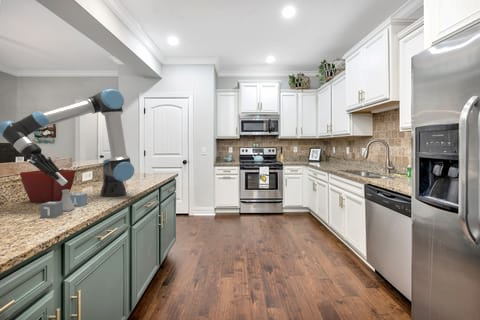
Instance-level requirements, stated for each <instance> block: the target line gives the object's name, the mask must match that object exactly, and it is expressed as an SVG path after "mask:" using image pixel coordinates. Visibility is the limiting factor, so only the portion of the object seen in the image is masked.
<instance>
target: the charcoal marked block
mask: <svg viewBox="0 0 480 320" xmlns="http://www.w3.org/2000/svg"><path fill="white" fill-rule="evenodd" d="M39 212H40V213H39V215H40V216H39V217H40V219H51V218H52V219H55V218H57V217H58V218H59V217H60V216H63V215H64V213H63V202H61V201H55V202H42V203H40V204H39Z"/></svg>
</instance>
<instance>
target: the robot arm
mask: <svg viewBox="0 0 480 320" xmlns="http://www.w3.org/2000/svg"><path fill="white" fill-rule="evenodd" d="M124 104H125V98H124V95H123V94H122V93H121V92H120V91H119V90H117V89H115V88H106V89H104V90H103V91H99V92H98V93H96V94H94V95H92V96H89V97H86V98H85V100H82V101H79V102H75V103H72V104H67V105H64V106H61V107H58V108H54V109H50V110H46V111H43V112H42V111H40V110H37V111H35V112H33V113H31V114H29V115H27V116H26V117H23V118H22V119H20V120H17V121H16V122H15V121H13V120H5V121H3V122H1V123H0V135H1V136H2V138H3V139H5V140H6V141H7V142H8V143H9V144H10V145H11V146H12V147H13V148H14V149H15V150H16V151H17V152H19V153H20V154H21V156H22V157H24V158H25V159H26V160H29V161H28V164H31V165H33V166H34V167H35V168H37V169H38V171H39V170H41V171H42V172H43V173H45V174H46V175H49V177H51V176H52V177H53V178H54V179H55V180H56V181H57V182H58V183H60V184H61V185H62V186H63V185H65V184H66V183H67V182H68V181H67V180H66V179H65V178H64V177H63V176H62V175H60V174H59V173H58V172H59V171H60V170H61V169H59V167H58V165H56V164H55V163H54V161H53V160H52V158H51V157H50V156H47V157H46V156H45V155H44V154H43V153H42V148H41V147H40V146H39V145H38V144H37V143H36V142H35V141H34V140H33V139H32V138H31V137H30V136H29V135H31V134H33V133H34V132H37V131H38V130H41V129H44V128H46V127H49V126H52V125H55V124H59V123H62V122H65V121H69V120H73V119H76V118H78V117H81V116H85V115H87V114H97V113H101V115H102V116H104V120H105V125H106V132H107V139H108V143H109V144H108V145H109V151H110V158H107V159H104V160H103V161H102V172H103V173H102V180H103V181H102V182H103V183H102V186H101V189H100V194H99V195H100V197H105V198H106V197H107V198H108V197H109V198H110V197H113V198H114V197H120V196H121V197H122V196H125V195H127V189H126V186H125V184H124V182H126V181H129V180H131V179H132V177H134V175H135V167H134V165H133V164H132V163H131V157H130V156H129V155H128V154H127V149H126V141H125V136H124V134H125V133H124V131H123V130H124V128H123V121H122V116H121V115H122V114H123V113H124V111H123V106H124Z"/></svg>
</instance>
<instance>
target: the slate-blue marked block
mask: <svg viewBox="0 0 480 320" xmlns="http://www.w3.org/2000/svg"><path fill="white" fill-rule="evenodd" d="M70 198H71V200H72V203H73V205H74V207H75V208H76V207H79V208H81V207H84V206H86V205H88V193H85V192H84V193H83V192H82V193H81V192H77V193H76V192H75V193H72V194H70Z"/></svg>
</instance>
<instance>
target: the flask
mask: <svg viewBox="0 0 480 320" xmlns="http://www.w3.org/2000/svg"><path fill="white" fill-rule="evenodd" d="M69 191H70V192H71V190H62V192H63V195H62V199H61V200H60V202H63V212H70V211H74V210H76V207H74V205H73V203H72V200H71V198H70V195H71V193H69Z"/></svg>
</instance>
